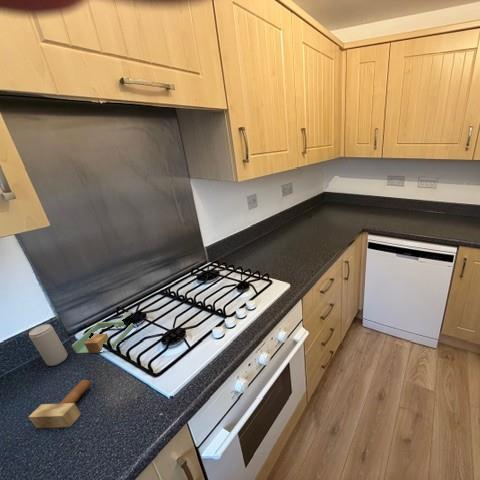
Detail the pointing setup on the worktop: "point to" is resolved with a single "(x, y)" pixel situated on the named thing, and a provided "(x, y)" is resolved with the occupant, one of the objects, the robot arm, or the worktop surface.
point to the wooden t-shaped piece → (60, 410)
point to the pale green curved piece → (79, 344)
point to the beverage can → (48, 344)
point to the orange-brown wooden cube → (96, 343)
